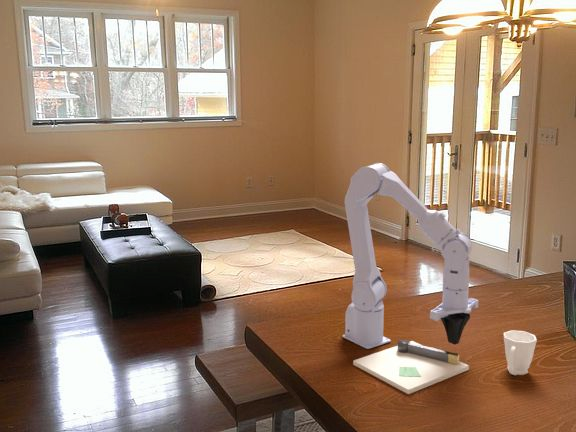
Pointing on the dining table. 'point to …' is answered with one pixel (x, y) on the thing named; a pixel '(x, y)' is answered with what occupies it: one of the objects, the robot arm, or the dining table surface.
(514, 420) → the dining table surface
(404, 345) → the lever
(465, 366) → the board
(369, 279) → the robot arm
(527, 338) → the cup
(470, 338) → the dining table surface
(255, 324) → the dining table surface
